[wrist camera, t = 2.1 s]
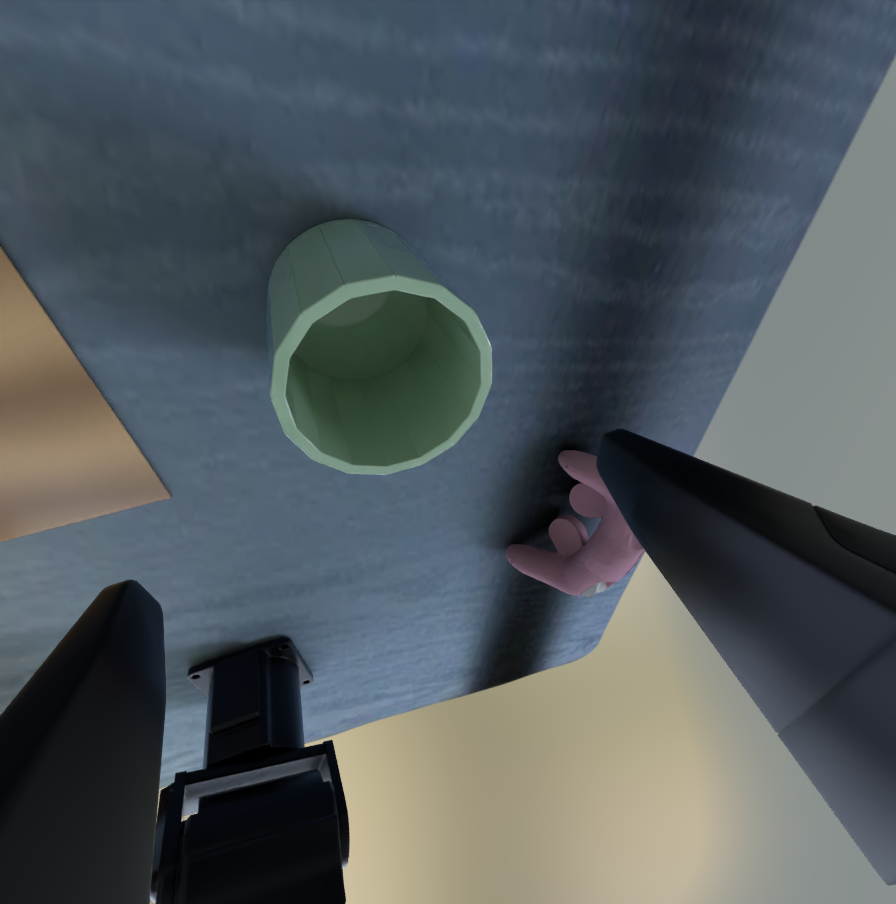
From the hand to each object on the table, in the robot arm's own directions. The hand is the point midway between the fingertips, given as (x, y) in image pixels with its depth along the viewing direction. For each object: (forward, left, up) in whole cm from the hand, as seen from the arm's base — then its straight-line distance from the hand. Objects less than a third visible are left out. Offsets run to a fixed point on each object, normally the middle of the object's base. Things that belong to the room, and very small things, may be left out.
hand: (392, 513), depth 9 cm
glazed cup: (-1, -1, -12) cm, 12 cm away
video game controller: (-17, -12, -12) cm, 24 cm away
